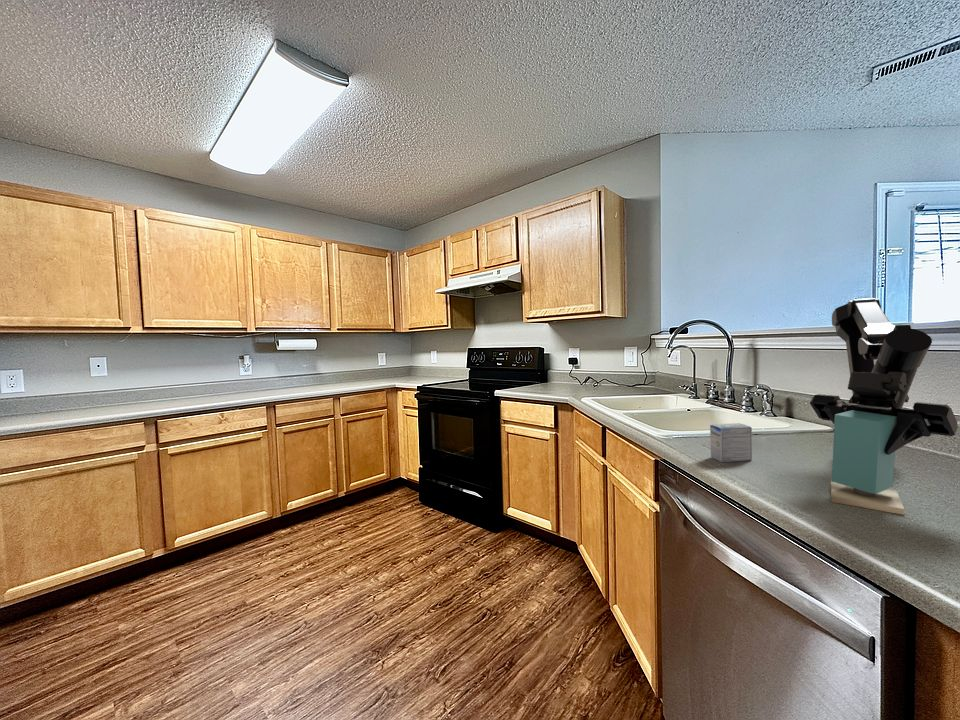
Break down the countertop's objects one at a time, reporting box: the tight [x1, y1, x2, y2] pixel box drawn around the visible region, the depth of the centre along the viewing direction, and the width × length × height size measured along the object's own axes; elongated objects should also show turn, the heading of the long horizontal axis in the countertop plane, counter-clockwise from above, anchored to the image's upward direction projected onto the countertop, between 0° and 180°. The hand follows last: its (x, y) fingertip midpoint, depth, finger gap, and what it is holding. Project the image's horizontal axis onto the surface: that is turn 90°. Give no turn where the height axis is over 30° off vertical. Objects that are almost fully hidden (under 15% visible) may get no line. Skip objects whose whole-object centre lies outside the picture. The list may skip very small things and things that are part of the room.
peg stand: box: [830, 480, 905, 516], centre depth 70 cm, size 10×9×4 cm
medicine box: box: [709, 422, 753, 463], centre depth 96 cm, size 8×4×9 cm, turn 92°
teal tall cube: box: [831, 410, 897, 494], centre depth 70 cm, size 6×6×13 cm
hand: (861, 448), depth 70 cm, fingers closed on teal tall cube, 6 cm apart
